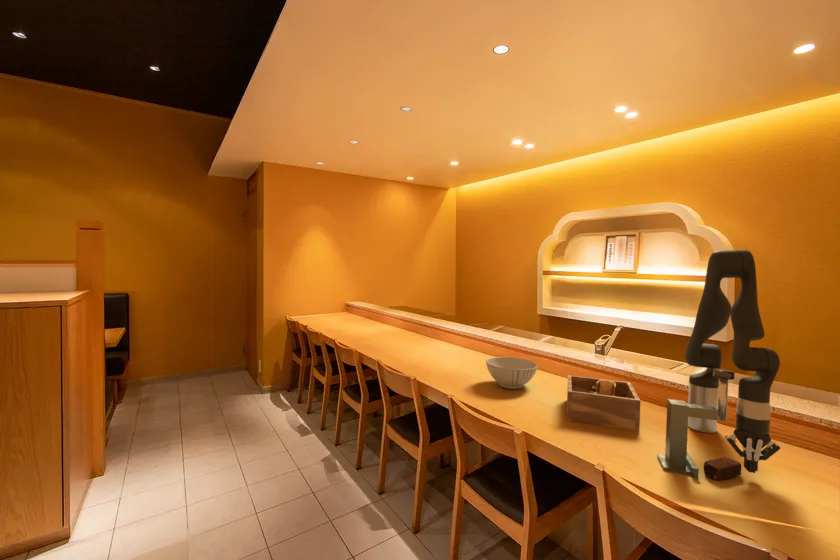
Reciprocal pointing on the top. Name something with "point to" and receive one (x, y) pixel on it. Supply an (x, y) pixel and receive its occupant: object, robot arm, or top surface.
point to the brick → (722, 468)
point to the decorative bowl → (511, 371)
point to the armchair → (604, 388)
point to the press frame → (682, 436)
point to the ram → (723, 390)
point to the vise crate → (603, 404)
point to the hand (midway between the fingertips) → (750, 471)
